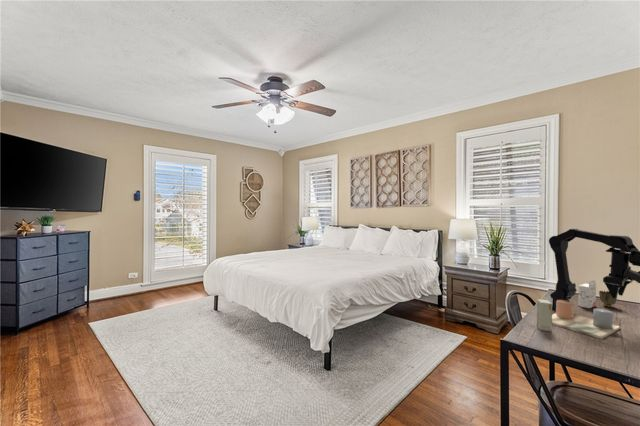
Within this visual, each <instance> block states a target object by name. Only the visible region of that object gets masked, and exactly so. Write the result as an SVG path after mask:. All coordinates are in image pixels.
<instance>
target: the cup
mask: <svg viewBox="0 0 640 426" xmlns="http://www.w3.org/2000/svg"><path fill="white" fill-rule="evenodd" d="M598 295H599V300H600V302H601V303H602V306H604V307H605V308H613V305H615V304H616V303H617V300H618V295H619V294H617V297H616V299H614V298H612V296H611V294H610V292H609V290H607V291H605V290H604V291H603V290H599V291H598Z"/></svg>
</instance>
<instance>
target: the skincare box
mask: <svg viewBox="0 0 640 426" xmlns="http://www.w3.org/2000/svg"><path fill="white" fill-rule="evenodd" d="M552 314H553V310H552V302H551V301H550V300H547V299H539V298H537V301H536V326H537V329H539V330H540V331H545V332H546V331H547V332H552V330H553V328H552V327H553V326H552V325H553V324H552Z"/></svg>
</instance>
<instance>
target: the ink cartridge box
mask: <svg viewBox="0 0 640 426" xmlns="http://www.w3.org/2000/svg"><path fill="white" fill-rule="evenodd" d="M577 293H578V296H577V297H578V300H577V301H578V302H577V305H578V307H582V308H584V309H585V308H586V309H591V308H594V307H596V301H597V281H596V279H595V280H589V281H588V283H583V284H579V285H578V291H577Z"/></svg>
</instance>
